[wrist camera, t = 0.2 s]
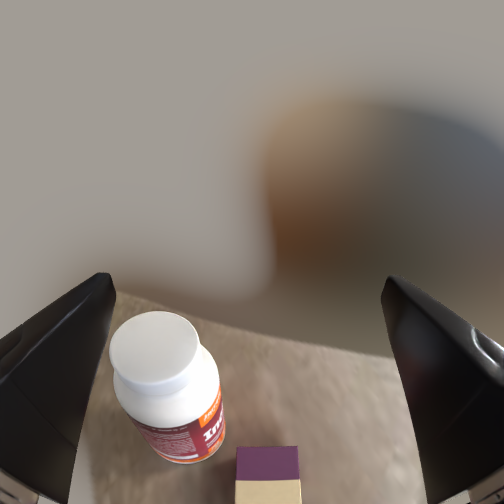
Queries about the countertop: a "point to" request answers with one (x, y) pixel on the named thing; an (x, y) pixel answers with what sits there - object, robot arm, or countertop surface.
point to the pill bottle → (168, 386)
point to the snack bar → (267, 475)
